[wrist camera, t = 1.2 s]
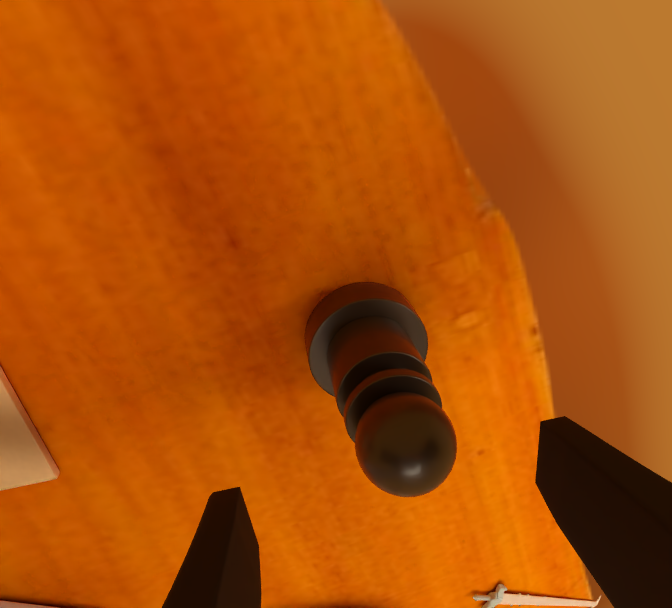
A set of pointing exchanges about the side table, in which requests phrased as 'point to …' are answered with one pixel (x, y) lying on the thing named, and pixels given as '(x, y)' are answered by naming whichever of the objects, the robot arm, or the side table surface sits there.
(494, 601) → the cream sword
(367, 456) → the chess pawn
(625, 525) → the robot arm
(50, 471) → the maple square
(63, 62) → the side table surface
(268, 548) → the side table surface
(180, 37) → the side table surface
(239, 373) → the side table surface
